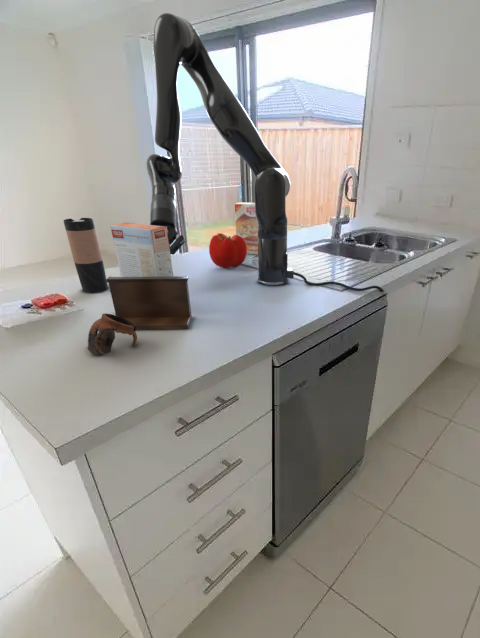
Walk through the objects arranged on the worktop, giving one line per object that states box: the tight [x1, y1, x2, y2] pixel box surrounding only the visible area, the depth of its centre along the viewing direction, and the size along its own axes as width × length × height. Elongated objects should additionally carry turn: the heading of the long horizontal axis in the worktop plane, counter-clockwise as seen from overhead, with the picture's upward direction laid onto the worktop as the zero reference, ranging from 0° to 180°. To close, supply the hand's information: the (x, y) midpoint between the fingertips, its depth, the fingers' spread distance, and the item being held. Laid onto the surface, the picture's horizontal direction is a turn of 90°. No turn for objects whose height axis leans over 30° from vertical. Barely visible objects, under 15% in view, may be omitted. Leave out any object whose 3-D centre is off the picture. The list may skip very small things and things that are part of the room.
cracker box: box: [109, 222, 174, 277], centre depth 97 cm, size 14×6×21 cm, turn 61°
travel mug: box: [63, 217, 109, 294], centre depth 109 cm, size 8×8×20 cm
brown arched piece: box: [87, 313, 138, 356], centre depth 78 cm, size 12×10×8 cm
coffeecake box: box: [234, 201, 258, 256], centre depth 154 cm, size 15×7×20 cm, turn 81°
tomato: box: [208, 232, 248, 270], centre depth 136 cm, size 13×14×12 cm
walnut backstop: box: [106, 275, 193, 331], centre depth 88 cm, size 19×7×11 cm, turn 94°
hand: (162, 266), depth 108 cm, fingers closed
